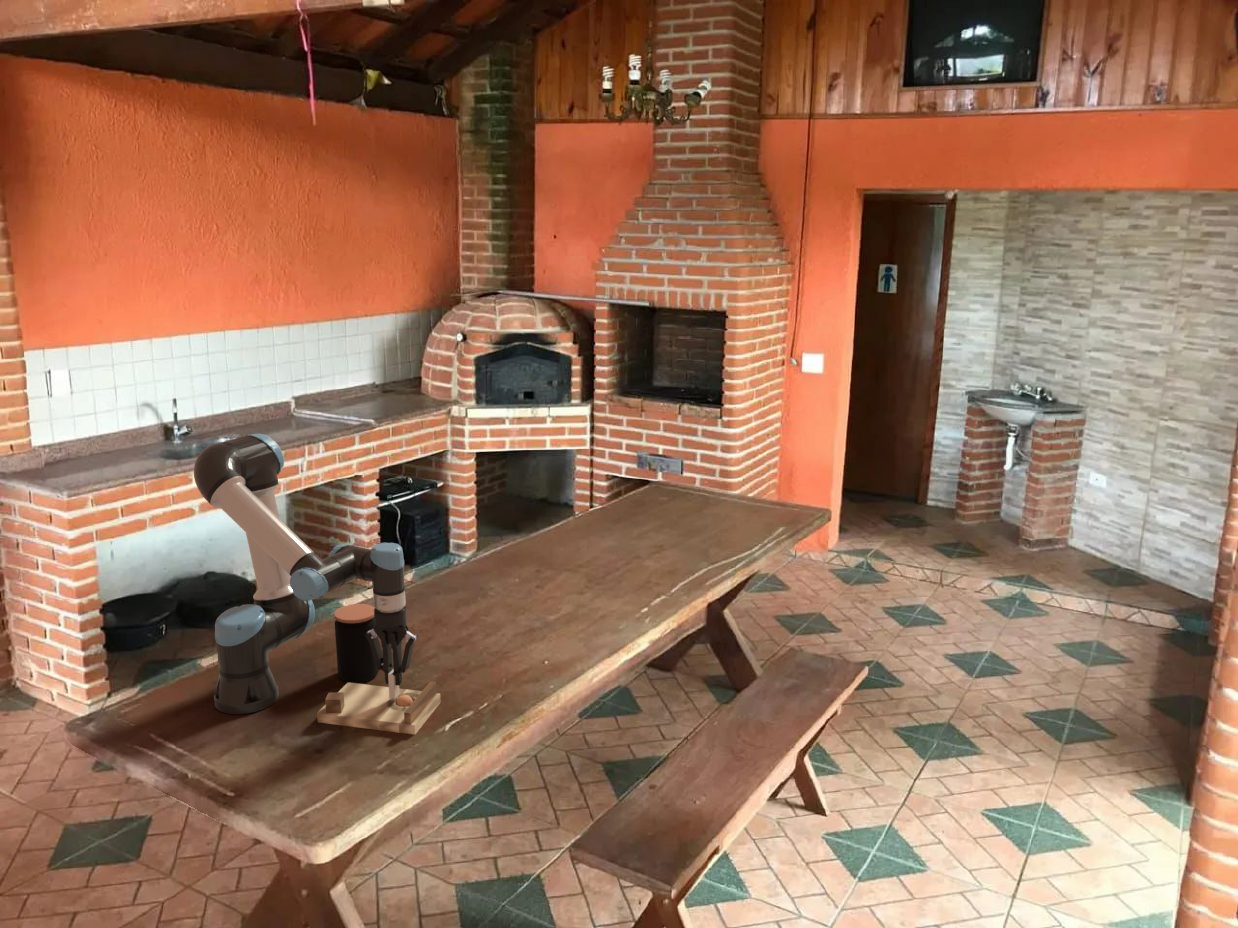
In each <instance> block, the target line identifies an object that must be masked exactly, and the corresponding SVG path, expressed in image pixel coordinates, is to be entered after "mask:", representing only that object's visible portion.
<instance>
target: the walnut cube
mask: <svg viewBox="0 0 1238 928" xmlns="http://www.w3.org/2000/svg"><path fill="white" fill-rule="evenodd" d="M324 700H325V701H324V702H325V704H324V705H326V713H342V710H343V708H344V692H339V691H338V692H328V693H327V695H326V697H325V699H324Z"/></svg>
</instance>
